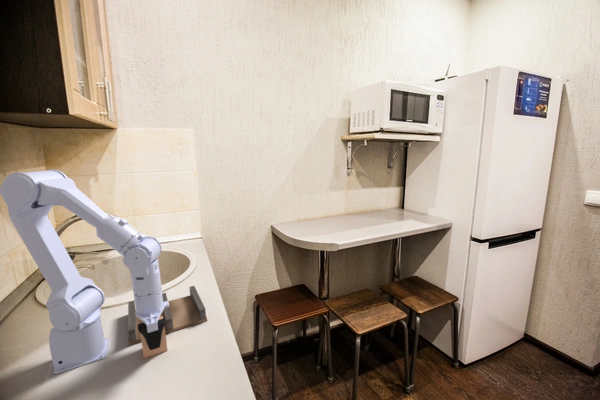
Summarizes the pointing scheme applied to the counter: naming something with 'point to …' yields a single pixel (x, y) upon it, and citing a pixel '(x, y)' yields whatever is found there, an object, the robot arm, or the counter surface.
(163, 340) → the block
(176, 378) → the counter surface
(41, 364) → the counter surface
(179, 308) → the rack
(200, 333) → the counter surface
